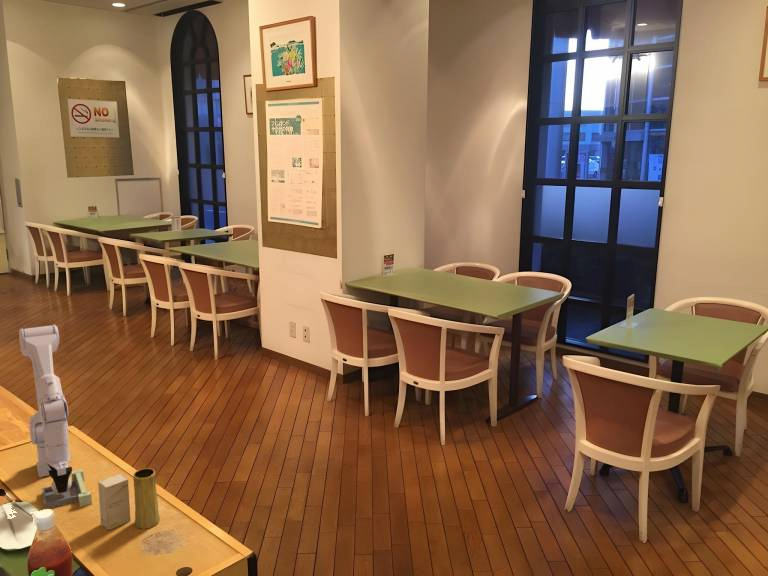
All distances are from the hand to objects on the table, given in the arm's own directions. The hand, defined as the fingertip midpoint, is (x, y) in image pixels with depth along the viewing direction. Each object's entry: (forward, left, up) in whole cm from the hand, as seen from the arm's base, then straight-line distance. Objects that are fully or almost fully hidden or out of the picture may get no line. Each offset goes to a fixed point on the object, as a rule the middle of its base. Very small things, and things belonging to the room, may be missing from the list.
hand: (61, 487), depth 176 cm
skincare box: (+20, +11, -3) cm, 23 cm away
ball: (0, 0, +1) cm, 1 cm away
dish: (0, 0, -3) cm, 3 cm away
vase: (+24, +18, -3) cm, 30 cm away
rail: (0, +5, -3) cm, 6 cm away
